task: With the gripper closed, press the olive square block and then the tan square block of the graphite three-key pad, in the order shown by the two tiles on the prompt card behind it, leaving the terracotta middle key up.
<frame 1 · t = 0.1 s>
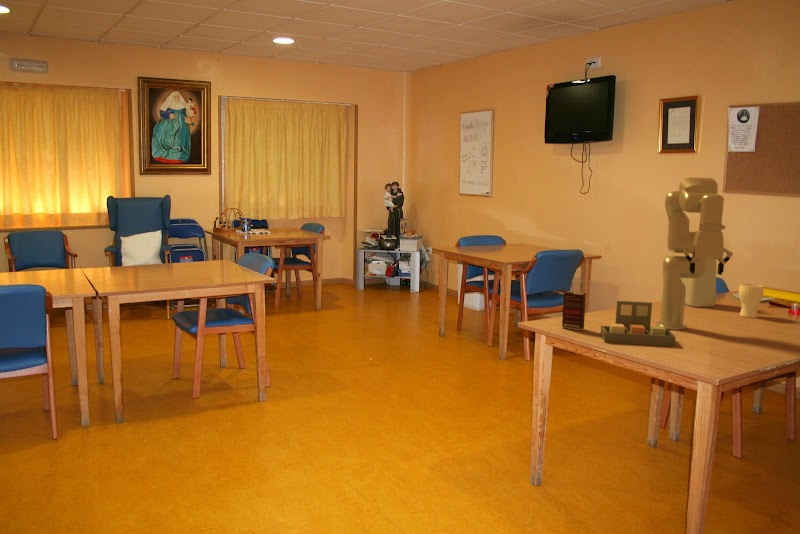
hand: (705, 273, 260), 31 cm above the table, tool pointing down, fingers open, 9 cm apart
terracotta key: (637, 330, 283), point 4 cm above the table, slide at 0.0 cm
tan square block: (616, 329, 284), point 4 cm above the table, slide at 0.0 cm
supplement box: (572, 329, 302), on the table
olive square block: (657, 331, 282), point 4 cm above the table, slide at 0.0 cm
prompt card: (631, 334, 294), on the table
beige rounded canister: (696, 304, 360), on the table
cup: (748, 316, 335), on the table
key pad frame: (636, 340, 283), on the table
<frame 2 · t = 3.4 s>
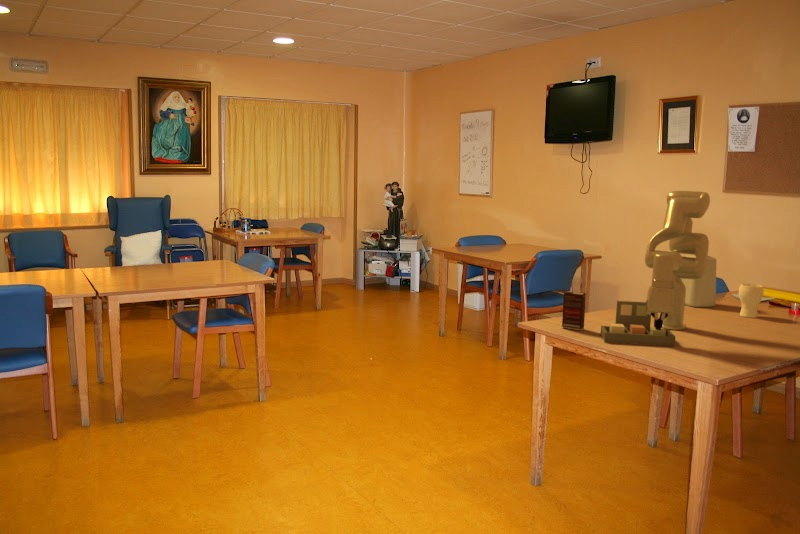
hand: (657, 328, 281), 5 cm above the table, tool pointing down, fingers closed
olive square block: (657, 333, 282), point 4 cm above the table, slide at 0.6 cm, touching gripper
everything else where it was.
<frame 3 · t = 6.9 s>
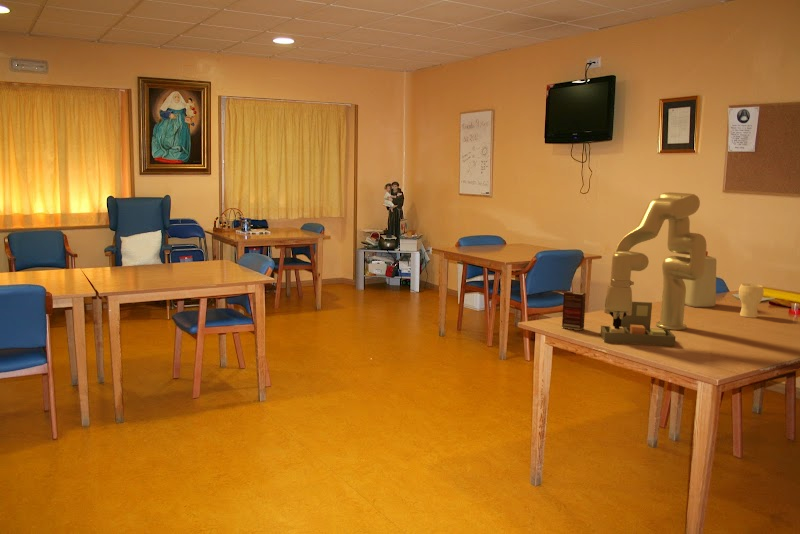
hand: (616, 327, 284), 5 cm above the table, tool pointing down, fingers closed
tan square block: (616, 332, 284), point 3 cm above the table, slide at 1.2 cm, touching gripper
olive square block: (657, 334, 282), point 3 cm above the table, slide at 1.4 cm
everything else where it was.
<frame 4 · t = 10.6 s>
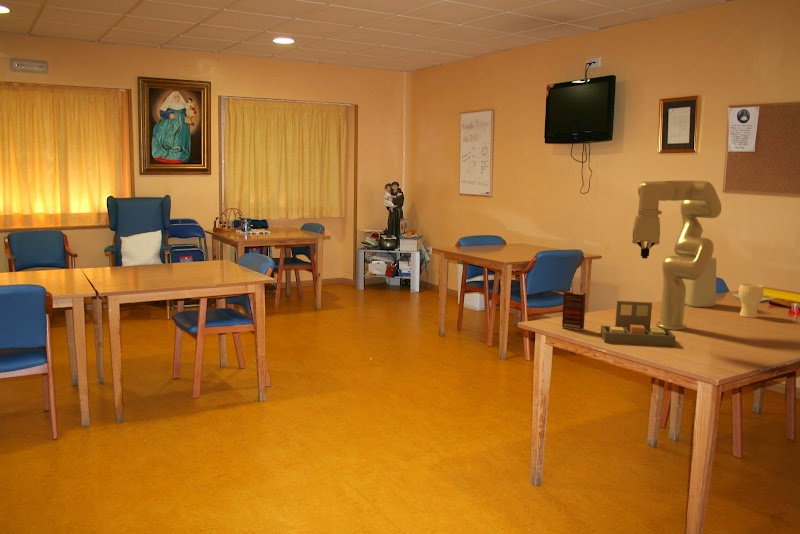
hand: (644, 258, 285), 33 cm above the table, tool pointing down, fingers closed
tan square block: (616, 332, 284), point 3 cm above the table, slide at 1.3 cm
everything else where it was.
at the end: olive square block slide at 1.4 cm; tan square block slide at 1.3 cm; terracotta key slide at 0.0 cm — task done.
